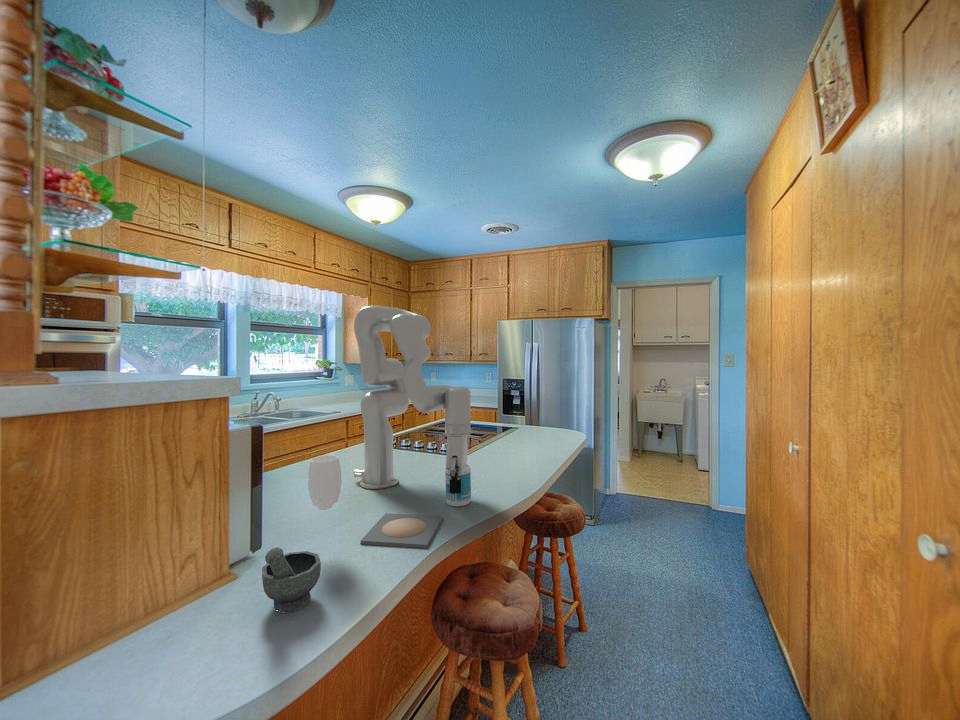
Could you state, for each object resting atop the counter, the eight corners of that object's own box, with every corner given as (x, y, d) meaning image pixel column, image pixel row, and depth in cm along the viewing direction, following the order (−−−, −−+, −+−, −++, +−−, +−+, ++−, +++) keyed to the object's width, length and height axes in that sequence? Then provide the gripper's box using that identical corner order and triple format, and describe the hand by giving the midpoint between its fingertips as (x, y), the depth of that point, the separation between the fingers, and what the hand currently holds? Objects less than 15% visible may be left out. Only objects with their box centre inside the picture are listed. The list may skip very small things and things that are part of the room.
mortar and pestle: (284, 584, 79) (283, 523, 78) (330, 587, 78) (329, 525, 77) (244, 623, 68) (242, 552, 67) (297, 627, 67) (296, 555, 66)
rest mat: (360, 544, 95) (360, 540, 95) (385, 516, 111) (385, 512, 111) (427, 548, 93) (427, 544, 93) (442, 519, 109) (442, 515, 109)
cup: (322, 559, 88) (320, 464, 88) (301, 551, 92) (300, 460, 91) (349, 546, 94) (348, 457, 94) (328, 538, 98) (327, 453, 98)
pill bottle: (472, 498, 124) (472, 454, 123) (469, 508, 116) (469, 461, 116) (448, 497, 125) (447, 454, 124) (443, 507, 117) (443, 460, 117)
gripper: (451, 423, 129) (451, 478, 129) (438, 435, 112) (439, 498, 112) (474, 424, 128) (475, 479, 128) (465, 435, 111) (465, 499, 111)
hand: (458, 487), depth 120 cm, fingers open, 8 cm apart
